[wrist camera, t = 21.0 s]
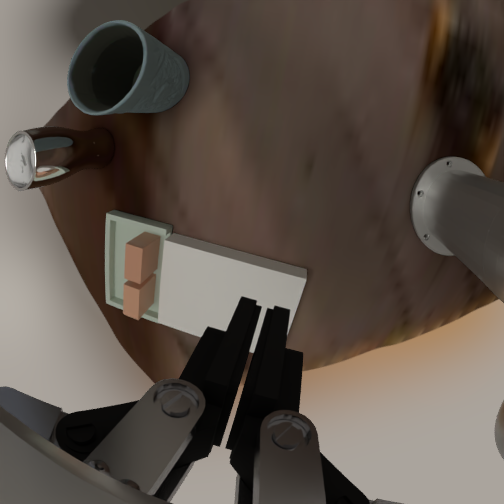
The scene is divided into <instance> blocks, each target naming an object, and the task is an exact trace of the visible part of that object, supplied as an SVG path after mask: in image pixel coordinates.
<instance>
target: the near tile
mask: <svg viewBox="0 0 504 504" xmlns="http://www.w3.org/2000/svg"><path fill="white" fill-rule="evenodd" d="M160 237H161V236H159V235H155V234H152V233H148V232H143V233H142V234H140V235H138V236H137V237H135V238H133V239H132V240H130V241H129V242H127V243H126V247H125V270H124V278H125V279H127V280H130V281H133V282H136V283H138V284H141V283H142V282H143V281H144V280H146V279H147V278H148V277H149V276H150V275H151V274H152V273H153V272H154V271H155V270H156V269H157V266H158V256H159V246H160Z"/></svg>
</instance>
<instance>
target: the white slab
mask: <svg viewBox="0 0 504 504" xmlns="http://www.w3.org/2000/svg"><path fill="white" fill-rule="evenodd" d="M306 280H307V269H304V268H301V267H297V266H293V265H290V264H286V263H282V262H279V261H275V260H271V259H268V258H264V257H260V256H257V255H253V254H249V253H246V252H242V251H238V250H235V249H231V248H227V247H224V246H220V245H216V244H213V243H209V242H205V241H202V240H198V239H194V238H191V237H187V236H183V235H180V234H176V233H173V234H172V235H171V236H169V237H168V238H166V239H165V240H164V249H163V259H162V270H161V282H160V296H159V311H158V323H161V324H164V325H167V326H169V327H172V328H175V329H178V330H181V331H184V332H187V333H190V334H193V335H196V336H199V337H202V335H203V333H204V331H205V329H206V328H207V327H208V326H209V327H213V328H216V329H219V330H222V331H226V330H227V328H228V325H229V323H230V321H231V319H232V316H233V314H234V312H235V309H236V307H237V305H238V302H239V300H240V298H241V296H243V297H246V298H250V299H254V300H257V303H256V305H259V306H262V309H261V312H260V316H259V319H258V323H257V326H256V330H255V333H254V337H253V340H252V344H251V347H250V351H249V352H252V353H254V350H255V347H256V344H257V341H258V337H259V334H260V331H261V327H262V324H263V320H264V317H265V314H266V310H267V308H270V309H273V308H274V306H279V307H283V308H287V309H290V317H289V325H288V332H289V329H290V327H291V324H292V321H293V318H294V315H295V312H296V309H297V307H298V304H299V301H300V298H301V295H302V292H303V289H304V286H305V283H306ZM288 332H287V335H288Z"/></svg>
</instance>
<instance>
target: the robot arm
mask: <svg viewBox="0 0 504 504" xmlns="http://www.w3.org/2000/svg"><path fill="white" fill-rule="evenodd" d="M447 162H448V165H447ZM418 191H420V193H419V194H417V192H418ZM410 215H411V221H412V224H413V227H414V230H415V232H416V234H417V236H418V237H419V239H420V240H421V241H422V242H423V243H424V244H425V245H426V246H427V247H428V248H429V249H431V250H432V251H434V252H435V253H438V254H441V255H447V256H453V255H455V256H456V257H457V258H458V259H459V260H460V261H462V262H463V263H464V264H465V265H466V266H467V267H468V268H469V269H470V270H471V271H472V272H473V273H474V274H475V275H476V276H477V277H478V278H479V279H480V280H481V281H482V282H483V283H484V284H485V285H486V286H487V287H488V288H489V289H490V290H491V291H492V292H493V293H494V294H495V295H496V296H497V297H498V298H499V299H500V300H501V301H502V302H503V303H504V182H501V181H497V180H494V179H491V178H487V177H485V175H484V174H483V172H482V171H481V170H480V169H479V168H478V167H477V166H476V165H475V164H474V163H472V162H471V161H469V160H466V159H464V158H460V157H444V158H440V159H438V160H436V161H434V162H432V163H431V164H430V165H428V166H427V167H426V168H425V169H424V170H423V171H422V173H421V174H420V175H419V177H418V179H417V181H416V182H415V185H414V188H413V191H412V194H411V200H410ZM425 234H426V236H425V237H424V235H425ZM256 303H257V300H254V299H250V298H246V297H243V296H241V298H240V300H239V302H238V305H237V307H236V309H235V312H234V314H233V316H232V319H231V321H230V323H229V325H228V328H227V330H226V331H222V330H219V329H216V328H213V327H209V326H208V327H207V328H206V329H205V331H204V333H203V335H202V337H201V339H200V341H199V342H198V344H197V346H196V348H195V350H194V352H193V354H192V355H191V357H190V359H189V361H188V363H187V365H186V367H185V368H184V370H183V372H182V374H181V376H180V378H179V379H164V380H162V381H159V382H157V383H156V384H154V385H153V386H152V387H151V388H150V389H149V390H148V391H147V392H146V393H145V395H144V396H143V397H142V398H141V399H140V400H138V401H134V402H129V403H124V404H120V405H114V406H109V407H103V408H97V409H91V410H86V411H78V412H74V413H71V414H68V413H65V412H63V410H62V409H61V408H59V407H56V406H54V405H51V404H49V403H46V402H43V401H41V400H38V399H36V398H34V397H31V396H29V395H26V394H24V393H22V392H20V391H17V390H15V389H13V388H10V387H0V504H172V503H170V501H171V500H172V498H173V496H174V495H175V493H176V491H177V490H178V488H179V487H180V486H181V484H182V482H183V481H184V479H185V477H186V476H187V474H188V473H189V471H190V470H191V468H192V466H193V464H194V462H195V461H197V460H199V459H202V458H205V457H208V455H209V453H210V452H211V449H212V447H213V445H216V446H220V444H221V441H222V438H223V435H224V432H225V429H226V425H227V423H228V419H229V416H230V413H231V410H232V407H233V404H234V400H235V397H236V394H237V391H238V387H239V384H240V381H241V378H242V374H243V371H244V368H245V364H246V361H247V358H248V354H249V351H250V347H251V344H252V340H253V337H254V333H255V330H256V326H257V323H258V319H259V316H260V312H261V309H262V306H259V305H256ZM289 317H290V309H287V308H283V307H279V306H274V308H273V309H270V308H267V310H266V314H265V317H264V320H263V324H262V327H261V331H260V334H259V337H258V341H257V344H256V347H255V350H254V354H253V357H252V360H251V364H250V367H249V370H248V374H247V377H246V381H245V384H244V388H243V391H242V394H241V398H240V401H239V405H238V408H237V411H236V415H235V418H234V422H233V425H232V428H231V431H230V435H229V438H228V441H227V444H226V448H227V449H230V450H232V452H231V455H230V459H231V460H230V464H231V465H232V467H233V468H234V469H235V470H236V472H237V473H238V474H237V477H236V492H235V504H402V503H397V502H391V501H386V500H381V499H376V500H375V501H372V500H368V499H367V497H366V496H365V495H364V494H363V493H362V492H361V491H360V490H359V489H358V488H357V487H356V486H355V485H353V484H352V483H351V482H350V481H349V480H348V479H347V478H346V477H345V476H344V475H343V474H342V473H341V472H340V471H339V470H338V469H337V468H335V467H334V465H333V464H332V463H331V462H330V461H329V460H327V458H325V456H323V454H322V453H321V452H320V450H319V442H318V434H317V431H316V428H315V426H314V424H313V423H312V422H311V420H309V419H308V418H307V417H306V416H304V415H302V414H300V413H299V405H300V393H301V379H302V367H303V352H299V351H295V350H291V349H287V348H285V347H286V340H287V332H288V325H289ZM495 441H496V445H497V448H498V450H499V453H500V454H501V456H502V458H503V459H504V401H503V403H502V405H501V407H500V409H499V412H498V415H497V419H496V423H495Z"/></svg>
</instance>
